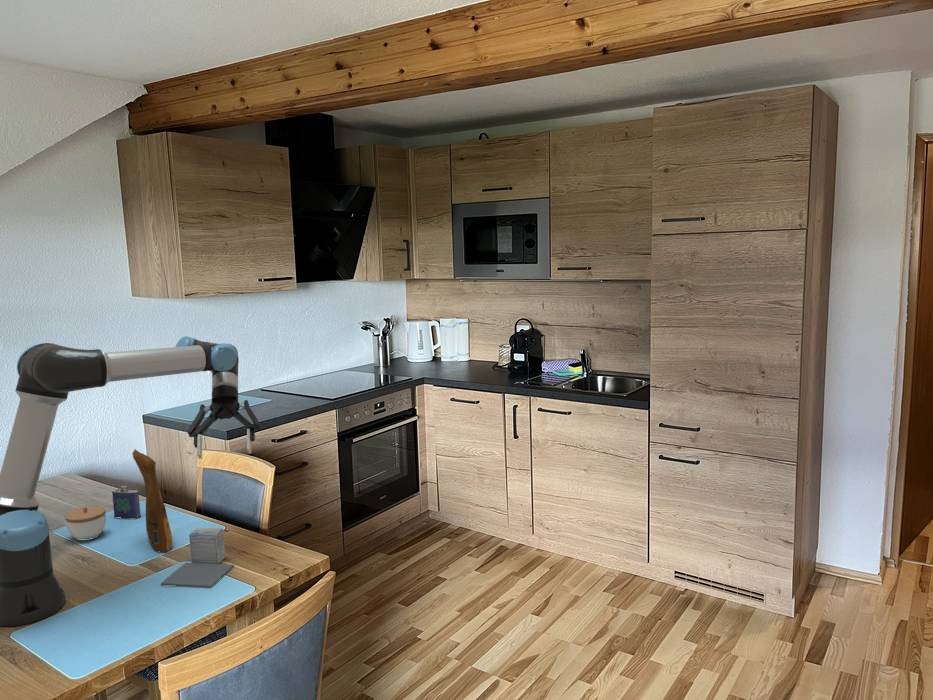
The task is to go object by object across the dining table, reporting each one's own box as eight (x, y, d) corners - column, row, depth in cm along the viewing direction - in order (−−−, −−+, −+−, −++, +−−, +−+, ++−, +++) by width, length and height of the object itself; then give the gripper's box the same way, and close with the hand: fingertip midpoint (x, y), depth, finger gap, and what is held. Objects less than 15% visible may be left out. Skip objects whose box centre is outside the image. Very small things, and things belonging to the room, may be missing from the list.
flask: (142, 516, 227) (139, 484, 226) (136, 519, 224) (133, 487, 223) (117, 514, 229) (114, 483, 227) (111, 518, 226) (108, 486, 224)
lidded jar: (115, 531, 215) (112, 502, 214) (88, 545, 205) (85, 515, 203) (87, 528, 218) (84, 500, 216) (59, 542, 208) (55, 512, 206)
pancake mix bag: (151, 558, 195) (142, 462, 191) (139, 536, 211) (131, 447, 206) (177, 552, 199) (168, 457, 195) (163, 531, 214) (155, 443, 210)
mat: (211, 587, 176) (211, 585, 176) (160, 585, 179) (160, 583, 179) (233, 566, 188) (233, 564, 188) (186, 564, 190) (185, 562, 190)
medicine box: (225, 557, 194) (223, 527, 193) (218, 564, 190) (216, 534, 189) (198, 556, 195) (196, 527, 194) (191, 563, 191) (188, 533, 190)
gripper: (269, 392, 215) (271, 454, 203) (184, 401, 210) (181, 465, 198) (266, 379, 208) (267, 442, 197) (178, 388, 204) (175, 453, 192)
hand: (224, 454), depth 198 cm, fingers open, 13 cm apart
